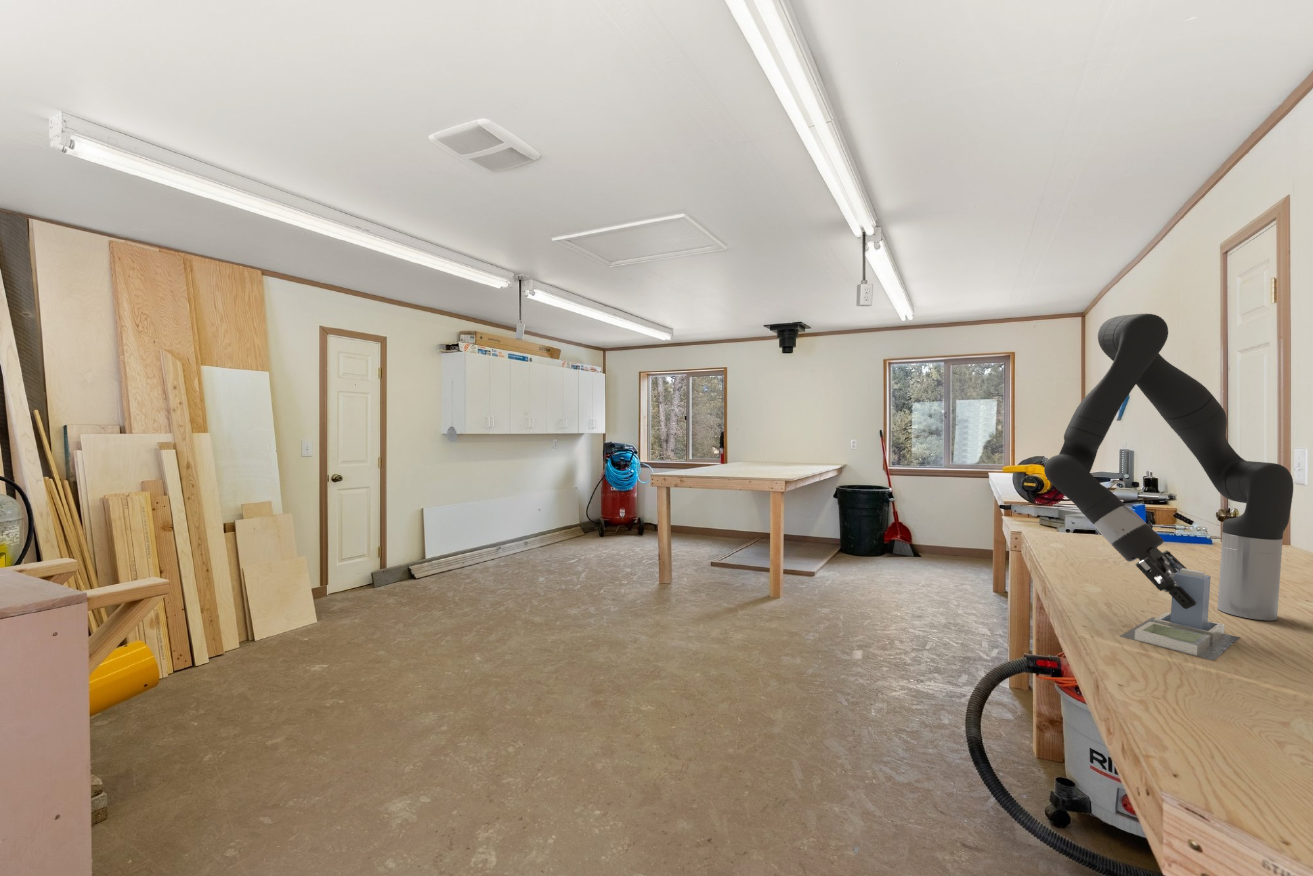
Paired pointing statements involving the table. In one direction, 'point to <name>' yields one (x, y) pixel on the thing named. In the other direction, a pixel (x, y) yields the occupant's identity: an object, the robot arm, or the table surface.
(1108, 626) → the table surface
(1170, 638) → the panel
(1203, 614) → the plug
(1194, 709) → the table surface
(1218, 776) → the table surface
